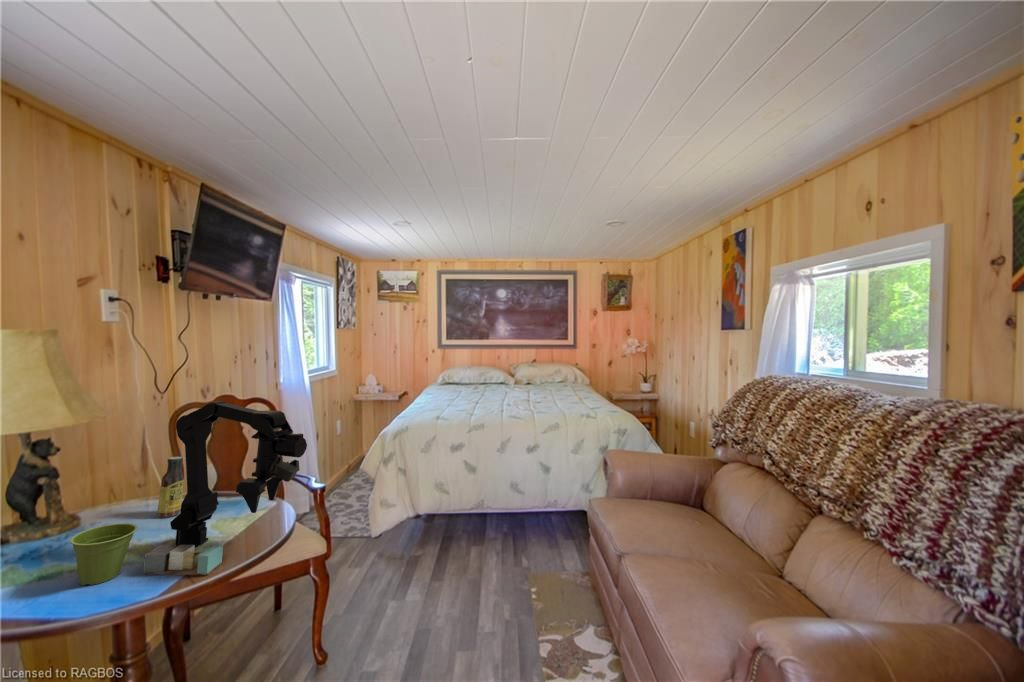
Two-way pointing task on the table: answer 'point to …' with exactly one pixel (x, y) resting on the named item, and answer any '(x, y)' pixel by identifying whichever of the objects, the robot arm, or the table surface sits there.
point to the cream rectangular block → (182, 558)
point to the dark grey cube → (158, 558)
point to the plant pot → (101, 551)
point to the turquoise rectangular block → (210, 559)
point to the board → (179, 572)
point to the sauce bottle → (171, 489)
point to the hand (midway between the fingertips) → (263, 506)
